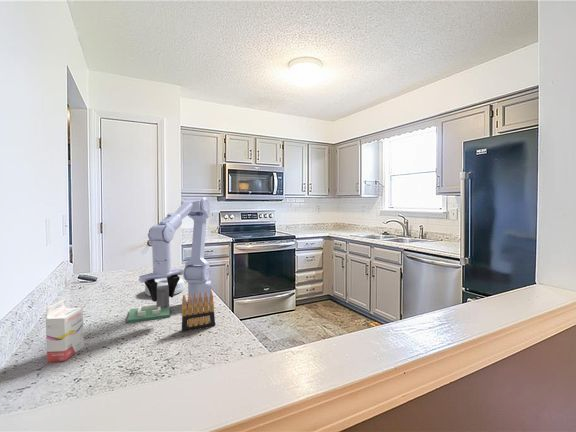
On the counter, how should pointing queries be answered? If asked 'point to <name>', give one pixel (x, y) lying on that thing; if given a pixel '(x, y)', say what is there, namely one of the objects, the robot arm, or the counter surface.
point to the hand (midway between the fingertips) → (162, 298)
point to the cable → (164, 282)
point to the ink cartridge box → (63, 331)
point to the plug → (162, 296)
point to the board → (148, 313)
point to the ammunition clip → (197, 312)
